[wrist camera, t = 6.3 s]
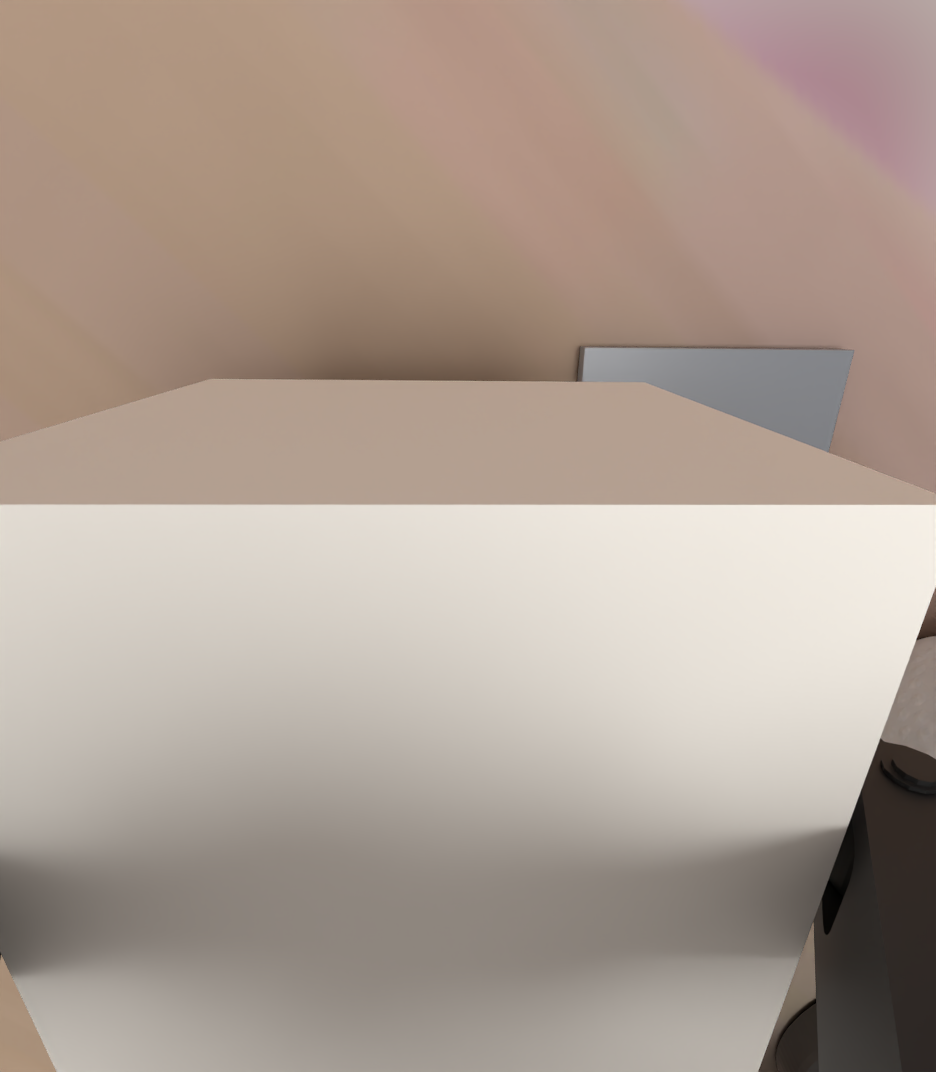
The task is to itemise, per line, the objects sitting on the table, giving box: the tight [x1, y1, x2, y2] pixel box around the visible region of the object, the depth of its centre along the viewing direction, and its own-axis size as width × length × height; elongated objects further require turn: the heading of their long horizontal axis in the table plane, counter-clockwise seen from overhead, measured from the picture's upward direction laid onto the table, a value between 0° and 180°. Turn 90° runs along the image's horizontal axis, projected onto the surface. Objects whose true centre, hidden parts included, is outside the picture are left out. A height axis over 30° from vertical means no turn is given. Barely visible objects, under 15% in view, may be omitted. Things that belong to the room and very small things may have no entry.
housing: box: [0, 379, 936, 1072], centre depth 11 cm, size 10×10×9 cm
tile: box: [577, 346, 854, 452], centre depth 21 cm, size 11×10×6 cm
